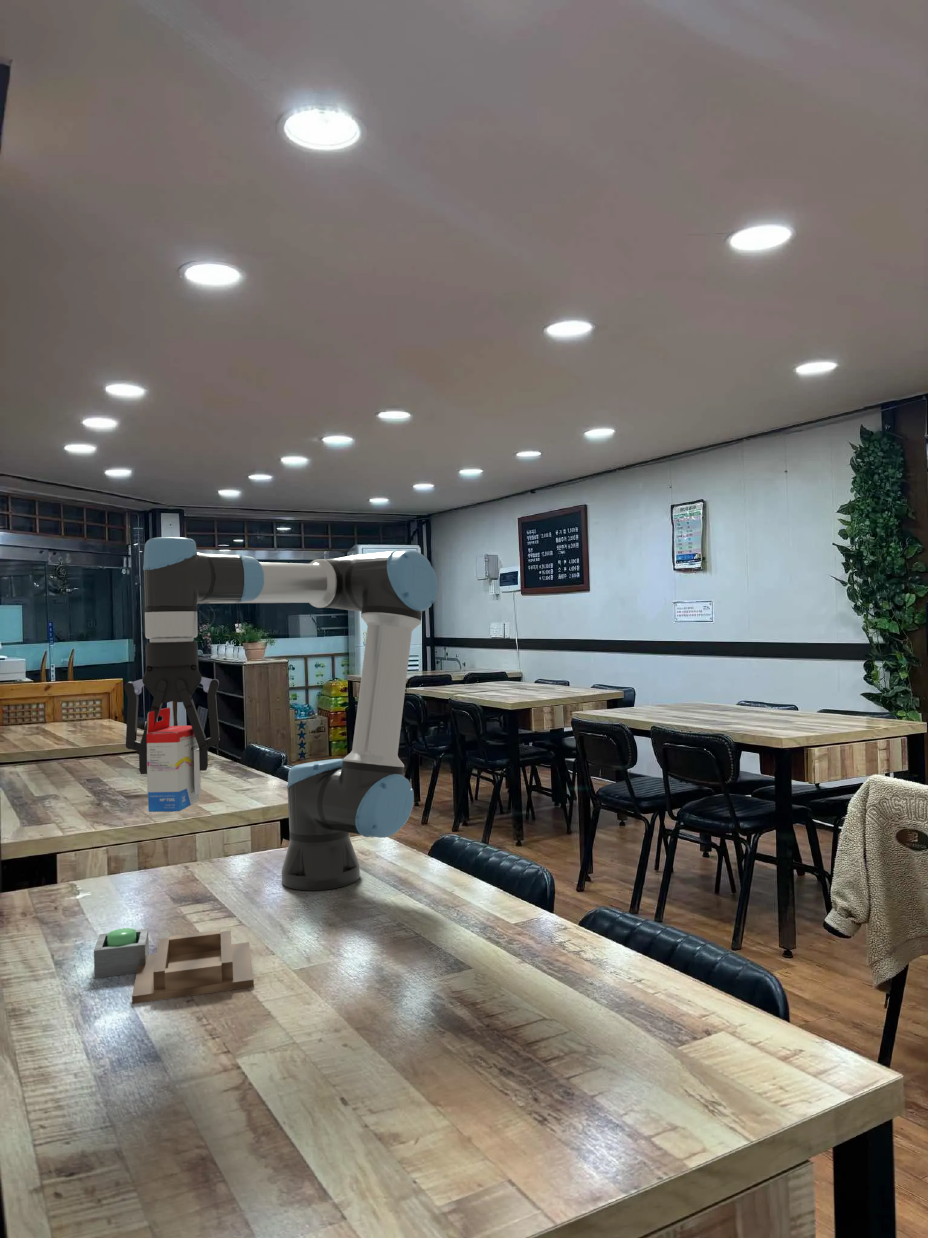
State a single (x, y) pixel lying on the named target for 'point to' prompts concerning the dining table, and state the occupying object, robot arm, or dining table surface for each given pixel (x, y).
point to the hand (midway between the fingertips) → (174, 793)
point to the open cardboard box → (193, 967)
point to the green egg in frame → (120, 955)
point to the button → (121, 937)
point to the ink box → (170, 764)
